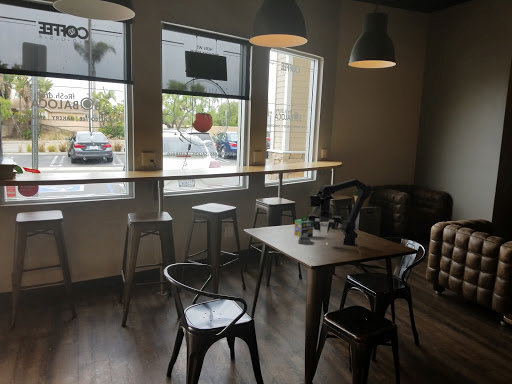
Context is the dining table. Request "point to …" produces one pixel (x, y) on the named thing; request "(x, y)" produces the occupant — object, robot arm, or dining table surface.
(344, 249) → the dining table surface
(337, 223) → the headphones
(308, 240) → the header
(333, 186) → the robot arm
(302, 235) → the chalk box
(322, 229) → the grey box
